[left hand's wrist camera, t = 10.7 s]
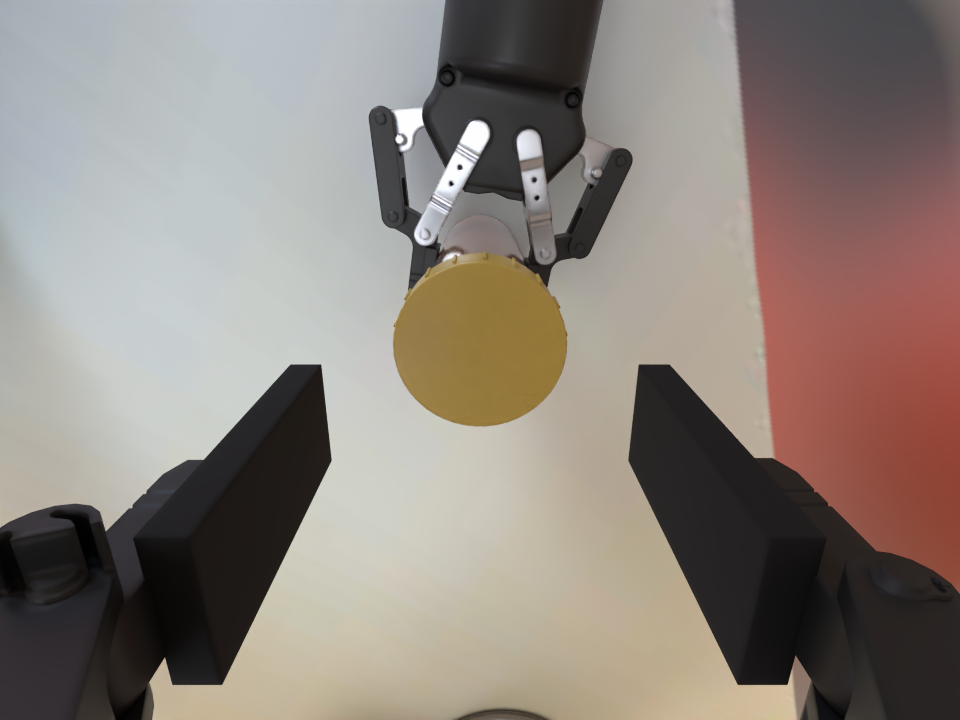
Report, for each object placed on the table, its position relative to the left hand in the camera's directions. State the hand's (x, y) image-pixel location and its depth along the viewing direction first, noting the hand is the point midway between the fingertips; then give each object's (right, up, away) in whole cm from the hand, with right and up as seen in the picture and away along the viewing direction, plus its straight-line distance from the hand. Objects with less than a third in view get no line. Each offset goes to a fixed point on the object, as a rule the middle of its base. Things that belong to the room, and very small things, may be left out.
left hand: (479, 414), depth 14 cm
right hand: (0, +4, +18) cm, 19 cm away
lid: (0, +2, +5) cm, 5 cm away
